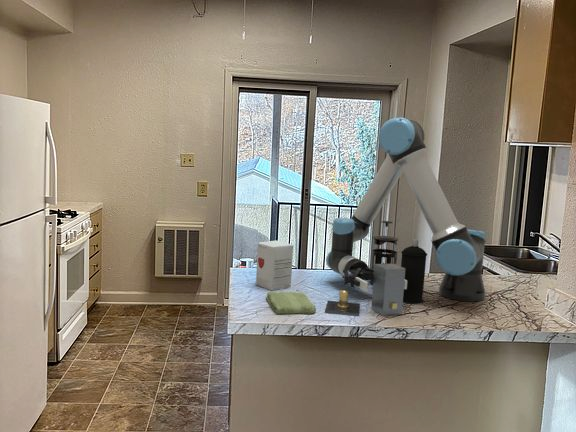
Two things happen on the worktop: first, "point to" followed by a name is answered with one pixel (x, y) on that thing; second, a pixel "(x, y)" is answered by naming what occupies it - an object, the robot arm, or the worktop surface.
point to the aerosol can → (414, 273)
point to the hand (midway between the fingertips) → (386, 286)
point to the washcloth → (290, 303)
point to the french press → (378, 252)
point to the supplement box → (274, 265)
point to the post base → (342, 311)
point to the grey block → (388, 289)
